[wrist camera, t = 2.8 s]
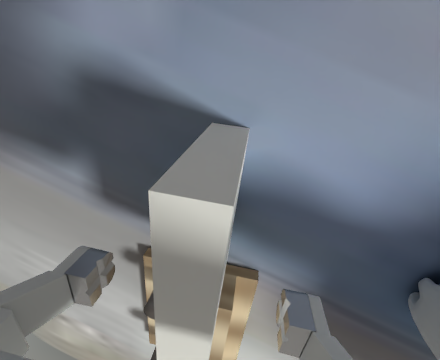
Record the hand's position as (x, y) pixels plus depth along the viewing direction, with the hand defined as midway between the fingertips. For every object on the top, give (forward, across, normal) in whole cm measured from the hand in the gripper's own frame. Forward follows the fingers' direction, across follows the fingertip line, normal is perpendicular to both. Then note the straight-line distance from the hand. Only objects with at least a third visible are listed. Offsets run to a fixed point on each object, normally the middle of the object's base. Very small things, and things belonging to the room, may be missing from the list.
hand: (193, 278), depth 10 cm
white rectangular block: (+7, 0, -1) cm, 7 cm away
